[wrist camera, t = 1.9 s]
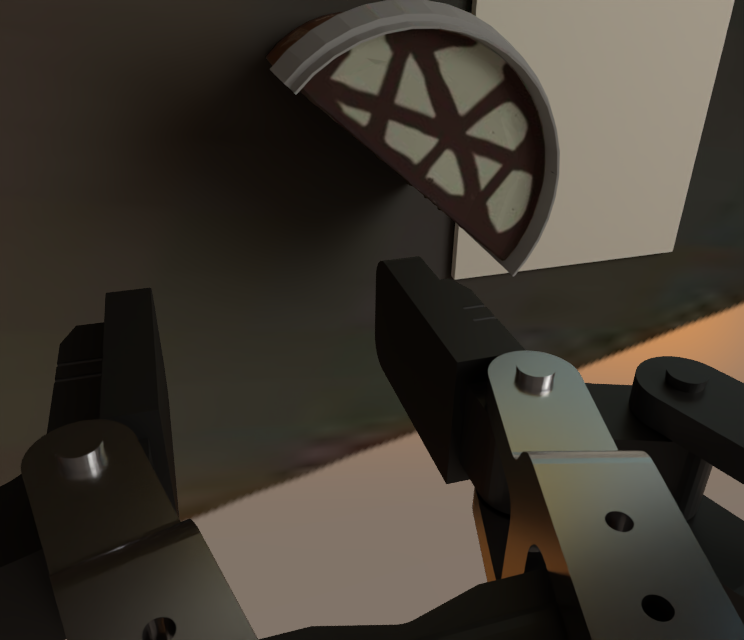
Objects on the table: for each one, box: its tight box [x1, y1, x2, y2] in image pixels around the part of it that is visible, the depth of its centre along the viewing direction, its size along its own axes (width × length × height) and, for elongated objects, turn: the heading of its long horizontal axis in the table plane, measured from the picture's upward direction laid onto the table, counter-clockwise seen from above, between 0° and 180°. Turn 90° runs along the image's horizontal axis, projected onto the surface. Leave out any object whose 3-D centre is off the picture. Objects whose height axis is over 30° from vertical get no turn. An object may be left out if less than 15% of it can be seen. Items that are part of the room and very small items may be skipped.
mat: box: [451, 0, 734, 280], centre depth 35 cm, size 14×22×1 cm, turn 0°
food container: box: [266, 0, 560, 277], centre depth 28 cm, size 12×6×10 cm, turn 48°
